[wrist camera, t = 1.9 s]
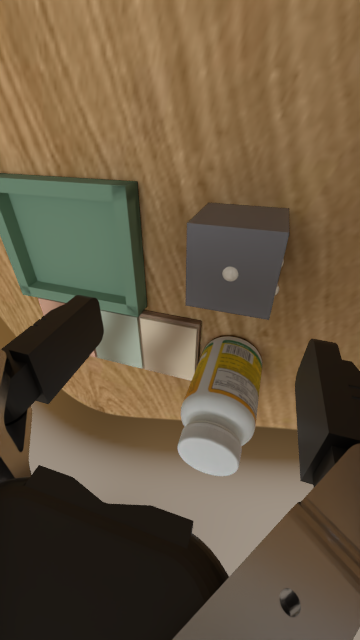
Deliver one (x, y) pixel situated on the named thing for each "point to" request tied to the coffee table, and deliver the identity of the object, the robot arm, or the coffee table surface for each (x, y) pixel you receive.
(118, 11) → the coffee table surface
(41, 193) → the tray
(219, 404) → the supplement bottle
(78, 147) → the coffee table surface
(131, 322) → the track
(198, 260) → the die
